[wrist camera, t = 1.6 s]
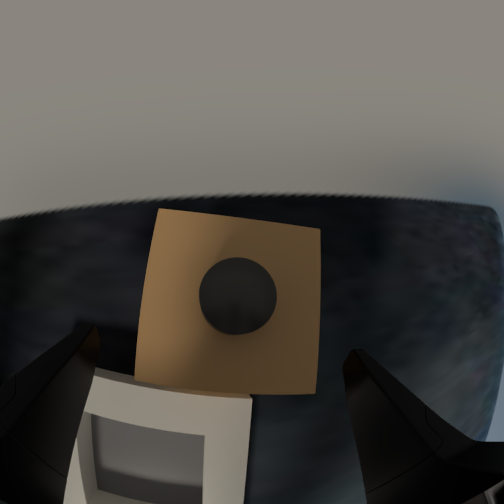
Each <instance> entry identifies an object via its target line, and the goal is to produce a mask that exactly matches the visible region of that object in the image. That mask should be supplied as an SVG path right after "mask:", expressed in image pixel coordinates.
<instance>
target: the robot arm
mask: <svg viewBox="0 0 504 504" xmlns="http://www.w3.org/2000/svg"><path fill="white" fill-rule="evenodd" d="M99 351H100V339H99V336H98V332H97V328H96V327H95V326H94V325H91V324H83V325H82V326H80V327H79V328H77V329H76V330H75V331H73V332H72V333H70V334H69V335H68V336H66V337H65V338H63V339H62V340H61V341H59V342H58V343H57V344H55V345H54V346H53V347H51V348H50V349H48V350H47V351H46V352H44V353H43V354H42V355H40V356H39V357H38V358H36V359H35V360H34V361H32V362H31V363H30V364H28V365H27V366H26V367H24V368H23V369H22V370H21V371H19V372H18V373H17V374H16V375H14V376H13V377H11V378H10V379H9V380H7V381H6V382H5V383H3V384H2V385H1V386H0V504H63V503H64V496H65V489H66V484H67V477H68V472H69V467H70V462H71V458H72V453H73V449H74V445H75V441H76V437H77V433H78V429H79V426H80V422H81V418H82V415H83V411H84V408H85V405H86V401H87V398H88V395H89V392H90V389H91V385H92V381H93V377H94V372H95V368H96V363H97V359H98V355H99ZM343 375H344V383H345V391H346V399H347V405H348V410H349V414H350V418H351V423H352V427H353V432H354V436H355V441H356V446H357V450H358V455H359V460H360V465H361V471H362V476H363V482H364V487H365V493H366V500H367V504H504V442H482V441H476V440H473V439H470V438H469V437H467V436H466V435H464V434H463V433H461V432H460V431H459V430H457V429H456V428H454V427H453V426H452V425H450V424H449V423H447V422H446V421H445V420H443V419H442V418H441V417H440V416H438V415H437V414H436V413H435V412H434V411H432V410H431V409H430V408H429V407H428V406H427V405H425V404H424V403H423V402H422V401H421V400H420V399H419V398H417V397H416V396H415V395H414V394H413V393H412V392H411V391H410V390H408V389H407V388H406V387H405V386H404V385H403V384H402V383H400V382H399V381H398V380H397V379H396V378H395V377H394V376H392V375H391V374H390V373H389V372H388V371H387V370H386V369H384V368H383V367H382V366H381V365H380V364H379V363H378V362H376V361H375V360H374V359H373V358H372V357H371V356H370V355H368V354H367V353H366V352H365V351H364V350H362V349H353V350H351V351H350V353H349V355H348V357H347V358H346V360H345V362H344V364H343Z"/></svg>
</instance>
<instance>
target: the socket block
mask: <svg viewBox="0 0 504 504" xmlns="http://www.w3.org/2000/svg"><path fill="white" fill-rule="evenodd" d="M251 410H252V398H251V396H250V395H249V394H241V393H225V392H212V391H202V390H193V389H185V388H177V387H170V386H164V385H158V384H152V383H146V382H141V381H136V380H134V376H131V375H127V374H122V373H117V372H113V371H109V370H105V369H101V368H97V367H96V368H95V372H94V377H93V381H92V385H91V389H90V392H89V395H88V398H87V401H86V405H85V408H84V411H83V415H82V418H81V422H80V426H79V429H78V433H77V437H76V441H75V445H74V449H73V453H72V458H71V462H70V467H69V472H68V477H67V484H66V489H65V496H64V503H63V504H243V502H244V492H245V481H246V469H247V458H248V446H249V434H250V422H251Z"/></svg>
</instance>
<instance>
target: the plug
mask: <svg viewBox="0 0 504 504" xmlns="http://www.w3.org/2000/svg"><path fill="white" fill-rule="evenodd" d="M320 293H321V244H320V229H316V228H310V227H303V226H296V225H289V224H282V223H275V222H268V221H261V220H253V219H246V218H238V217H230V216H222V215H214V214H206V213H197V212H188V211H179V210H170V209H160V208H159V210H158V215H157V219H156V224H155V228H154V233H153V238H152V243H151V248H150V254H149V259H148V265H147V271H146V277H145V283H144V290H143V296H142V304H141V311H140V319H139V328H138V338H137V349H136V361H135V376H134V380H136V381H141V382H146V383H152V384H158V385H164V386H170V387H177V388H185V389H193V390H202V391H212V392H225V393H241V394H276V395H283V394H315V391H316V379H317V365H318V349H319V328H320Z"/></svg>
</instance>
